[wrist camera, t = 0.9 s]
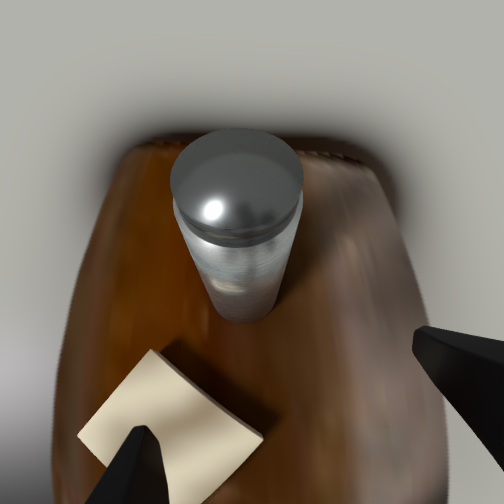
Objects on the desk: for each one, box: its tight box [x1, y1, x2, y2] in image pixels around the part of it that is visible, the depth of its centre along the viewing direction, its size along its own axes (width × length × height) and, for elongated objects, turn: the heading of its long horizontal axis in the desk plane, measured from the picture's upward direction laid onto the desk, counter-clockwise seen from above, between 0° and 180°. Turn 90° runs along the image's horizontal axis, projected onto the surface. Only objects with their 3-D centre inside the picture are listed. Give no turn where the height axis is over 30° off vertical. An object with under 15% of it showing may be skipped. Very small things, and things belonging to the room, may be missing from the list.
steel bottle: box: [170, 128, 304, 324], centre depth 16 cm, size 5×5×14 cm
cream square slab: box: [77, 349, 263, 504], centre depth 16 cm, size 10×10×2 cm
